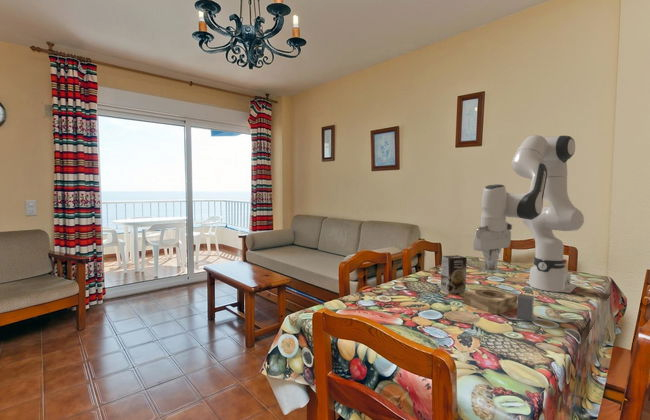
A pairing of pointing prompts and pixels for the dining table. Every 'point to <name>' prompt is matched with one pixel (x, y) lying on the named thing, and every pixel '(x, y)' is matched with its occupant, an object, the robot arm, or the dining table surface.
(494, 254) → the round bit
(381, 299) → the dining table surface
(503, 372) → the dining table surface
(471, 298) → the bore block
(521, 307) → the square bit
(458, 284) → the coffee box
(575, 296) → the dining table surface
